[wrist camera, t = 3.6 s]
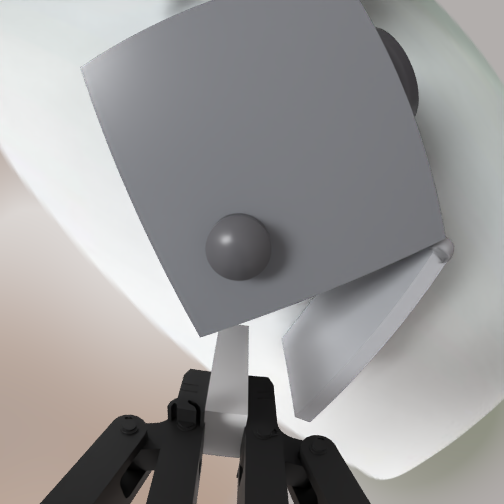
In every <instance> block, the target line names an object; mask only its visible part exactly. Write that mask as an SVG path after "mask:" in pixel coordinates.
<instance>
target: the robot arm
mask: <svg viewBox="0 0 504 504" xmlns="http://www.w3.org/2000/svg"><path fill="white" fill-rule="evenodd" d="M248 339H249V326H244V325H235V326H233V327H230V328H227V329H224V330H221V331H218V337H217V343H216V348H215V354H214V360H213V365H212V371H211V372H208V371H201V370H195V369H190V370H189V371H188V372H187V373H186V374H185V375H184V377H183V381H182V384H181V388H180V391H179V395H178V398H176V399H174V400H172V401H171V402H170V403H169V405H168V419H167V420H166V421H163V422H160V423H145V422H144V421H143V420H142V419H141V418H139V417H137V416H134V415H123V416H120V417H118V418H116V419H115V420H114V421H113V422H112V423H111V424H110V425H109V426H108V428H107V429H106V430H105V431H104V432H103V433H102V435H101V436H100V437H99V438H98V439H97V440H96V441H95V442H94V443H93V445H92V446H91V447H90V448H89V449H88V450H87V451H86V452H85V454H84V455H83V456H82V457H81V458H80V459H79V460H78V462H77V463H76V464H75V465H74V466H73V467H72V468H71V470H70V471H69V472H68V473H67V474H66V475H65V476H64V477H63V478H62V480H61V481H60V482H59V483H58V484H57V485H56V486H55V488H54V489H53V490H52V491H51V492H50V493H49V494H48V495H47V496H46V498H45V499H44V500H43V501H42V502H41V503H40V504H130V503H131V502H132V500H133V499H134V497H135V496H136V494H137V493H138V491H139V489H140V488H141V486H142V485H143V483H144V482H145V480H146V479H147V477H148V476H149V474H150V473H151V470H155V471H154V476H153V479H152V483H151V487H150V491H149V495H148V498H147V502H146V504H196V503H197V496H198V488H199V480H200V473H201V465H202V454H208V455H216V456H225V457H235V458H239V457H240V463H239V468H238V473H237V478H238V492H237V504H289V503H288V493H287V488H288V490H289V493H290V495H291V497H292V500H293V502H294V504H370V502H369V500H368V499H367V497H366V495H365V494H364V492H363V490H362V489H361V487H360V486H359V484H358V482H357V481H356V479H355V477H354V476H353V474H352V472H351V471H350V469H349V468H348V466H347V464H346V463H345V461H344V459H343V458H342V456H341V454H340V453H339V451H338V449H337V448H336V446H335V444H334V443H333V442H332V441H331V440H330V439H328V438H326V437H324V436H320V435H312V436H309V437H306V438H305V439H304V440H298V439H295V438H292V437H289V436H287V435H286V434H284V433H283V432H282V431H281V430H280V429H279V427H278V424H277V416H276V406H275V395H274V385H273V383H272V382H271V381H270V379H269V378H268V377H258V376H248Z"/></svg>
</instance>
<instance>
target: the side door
mask: <svg viewBox="0 0 504 504" xmlns="http://www.w3.org/2000/svg"><path fill="white" fill-rule="evenodd" d="M453 252H454V244H453V242H452V241H451V240H450V239H449V238H447V237H446V239H444V240H441V241H439V242H437V243H435V244H433V245H431V246H429V247H427V248H425V249H422V250H420V251H418V252H416V253H414V254H412V255H409V256H407V257H405V258H403V259H401V260H398V261H396V262H394V263H392V264H390V265H387V266H385V267H383V268H380V269H378V270H376V271H374V272H371V273H369V274H367V275H364V276H362V277H360V278H357V279H355V280H352V281H350V282H348V283H345V284H343V285H340V286H338V287H336V288H333V289H331V290H328V291H326V292H323V293H321V294H318V295H316V296H315V297H314V298H313V299H312V301H311V302H310V303H309V305H308V306H307V307H306V309H305V310H304V311H303V313H302V314H301V315H300V316H299V318H298V319H297V320H296V322H295V323H294V324H293V325H292V327H291V328H290V329H289V330H288V332H287V333H286V334H285V335H284V337H283V338H282V342H283V348H284V354H285V359H286V365H287V371H288V377H289V383H290V389H291V395H292V401H293V407H294V413H295V417H297V418H299V419H302V420H305V421H308V422H311V421H312V420H313V419H314V418H315V417H316V416H317V415H318V414H319V413H320V412H321V411H322V410H323V409H324V408H326V407H327V406H328V405H329V404H330V403H331V402H332V401H333V400H334V399H335V398H336V397H337V396H338V395H339V394H340V393H341V392H342V391H343V390H344V389H345V388H346V387H347V386H348V385H349V383H350V382H351V381H352V380H353V379H354V378H355V377H356V376H357V375H358V374H359V373H360V372H361V371H362V370H363V369H364V367H365V366H366V365H367V364H368V363H369V362H370V361H371V360H372V359H373V357H374V356H375V355H376V354H377V353H378V352H379V351H380V349H381V348H382V347H383V346H384V345H385V344H386V342H387V341H388V340H389V339H390V338H391V336H392V335H393V334H394V333H395V332H396V330H397V329H398V328H399V327H400V325H401V324H402V323H403V322H404V320H405V319H406V318H407V316H408V315H409V314H410V313H411V311H412V310H413V309H414V307H415V306H416V305H417V303H418V302H419V301H420V299H421V298H422V297H423V295H424V294H425V293H426V291H427V290H428V288H429V287H430V286H431V284H432V283H433V281H434V280H435V278H436V277H437V276H438V274H439V273H440V271H441V270H442V268H443V267H444V265H445V264H446V262H448V261H449V260H450V259H451V257H452V255H453Z"/></svg>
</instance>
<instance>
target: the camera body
mask: <svg viewBox="0 0 504 504" xmlns="http://www.w3.org/2000/svg"><path fill="white" fill-rule="evenodd" d="M80 68H81V71H82V74H83V77H84V80H85V83H86V86H87V89H88V92H89V95H90V98H91V101H92V104H93V106H94V109H95V112H96V115H97V117H98V120H99V123H100V125H101V128H102V131H103V133H104V136H105V139H106V141H107V144H108V146H109V149H110V151H111V154H112V156H113V159H114V161H115V164H116V166H117V169H118V171H119V173H120V176H121V178H122V180H123V183H124V185H125V187H126V190H127V192H128V194H129V197H130V199H131V201H132V203H133V206H134V208H135V210H136V212H137V215H138V217H139V219H140V221H141V223H142V225H143V228H144V230H145V232H146V234H147V236H148V238H149V240H150V242H151V244H152V246H153V249H154V251H155V253H156V255H157V257H158V259H159V261H160V263H161V265H162V267H163V269H164V271H165V273H166V275H167V277H168V279H169V281H170V282H171V284H172V286H173V288H174V290H175V292H176V294H177V296H178V298H179V300H180V302H181V303H182V305H183V307H184V309H185V311H186V313H187V314H188V316H189V318H190V320H191V322H192V324H193V325H194V327H195V329H196V331H197V333H198V334H199V336H200V337H203V336H206V335H209V334H212V333H215V332H218V331H221V330H224V329H227V328H230V327H233V326H235V325H238V324H241V323H244V322H247V321H250V320H252V319H255V318H258V317H261V316H263V315H266V314H269V313H271V312H274V311H277V310H279V309H282V308H285V307H287V306H290V305H293V304H295V303H298V302H300V301H303V300H306V299H308V298H311V297H313V296H316V295H318V294H321V293H323V292H326V291H328V290H331V289H333V288H336V287H338V286H340V285H343V284H345V283H348V282H350V281H352V280H355V279H357V278H360V277H362V276H364V275H367V274H369V273H371V272H374V271H376V270H378V269H380V268H383V267H385V266H387V265H390V264H392V263H394V262H396V261H398V260H401V259H403V258H405V257H407V256H409V255H412V254H414V253H416V252H418V251H420V250H422V249H425V248H427V247H429V246H431V245H433V244H435V243H437V242H439V241H441V240H444V239H446V235H445V229H444V224H443V219H442V214H441V209H440V205H439V200H438V196H437V192H436V187H435V183H434V180H433V176H432V172H431V168H430V165H429V161H428V158H427V154H426V151H425V148H424V144H423V141H422V138H421V135H420V132H419V129H418V126H417V123H416V120H415V115H416V112H417V109H418V101H419V96H418V86H417V81H416V77H415V73H414V70H413V68H412V65H411V63H410V61H409V59H408V57H407V55H406V53H405V52H404V50H403V48H402V47H401V46H400V44H399V43H398V42H397V41H396V40H395V38H393V37H392V36H391V35H390V34H389V33H387V32H386V31H384V30H383V29H380V28H377V27H375V26H374V25H373V23H372V21H371V19H370V17H369V15H368V14H367V12H366V10H365V8H364V7H363V5H362V3H361V2H360V0H212V1H209V2H206V3H204V4H201V5H198V6H196V7H193V8H191V9H188V10H186V11H184V12H181V13H179V14H177V15H174V16H172V17H170V18H168V19H165V20H163V21H161V22H159V23H157V24H155V25H153V26H151V27H149V28H147V29H145V30H143V31H141V32H139V33H137V34H135V35H133V36H131V37H129V38H128V39H126V40H124V41H122V42H120V43H119V44H117V45H115V46H113V47H112V48H110V49H108V50H107V51H105V52H103V53H102V54H100V55H98V56H97V57H95V58H94V59H92V60H91V61H89V62H88V63H86V64H84V65H83V66H81V67H80Z"/></svg>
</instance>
